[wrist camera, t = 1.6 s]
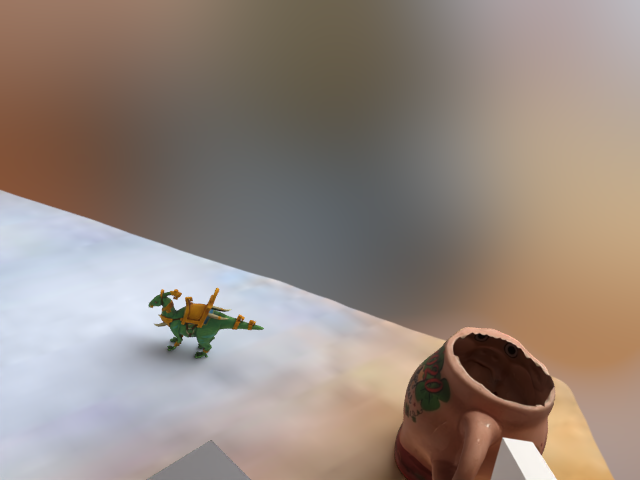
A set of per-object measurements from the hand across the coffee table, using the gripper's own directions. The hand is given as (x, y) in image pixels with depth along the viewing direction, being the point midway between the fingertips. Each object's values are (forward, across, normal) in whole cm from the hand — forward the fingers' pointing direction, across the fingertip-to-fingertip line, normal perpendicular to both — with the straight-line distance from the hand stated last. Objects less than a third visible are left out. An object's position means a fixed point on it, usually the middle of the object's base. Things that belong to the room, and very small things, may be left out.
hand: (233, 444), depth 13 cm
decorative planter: (+31, +17, -23) cm, 43 cm away
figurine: (+40, -8, -18) cm, 45 cm away
